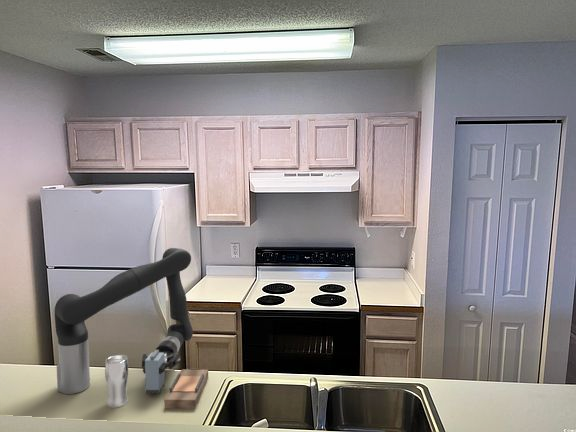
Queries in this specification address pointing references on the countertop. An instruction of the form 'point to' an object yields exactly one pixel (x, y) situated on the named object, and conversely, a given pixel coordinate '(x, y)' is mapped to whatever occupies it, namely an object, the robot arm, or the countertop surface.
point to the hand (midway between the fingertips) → (152, 371)
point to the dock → (186, 389)
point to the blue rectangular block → (154, 372)
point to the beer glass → (116, 380)
